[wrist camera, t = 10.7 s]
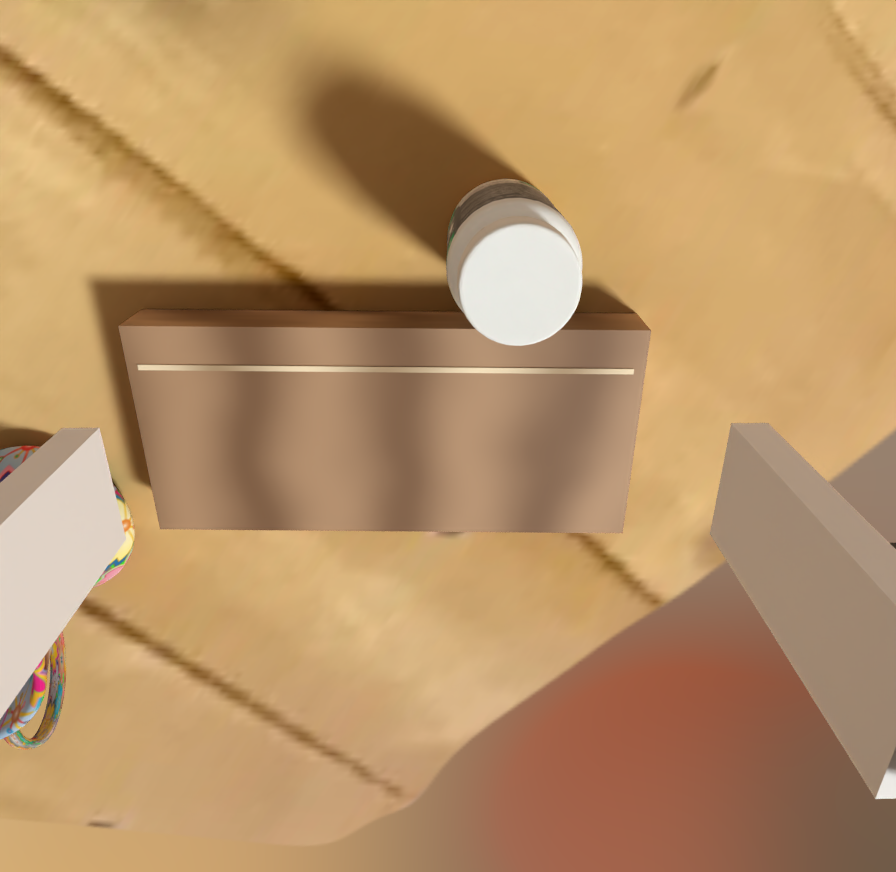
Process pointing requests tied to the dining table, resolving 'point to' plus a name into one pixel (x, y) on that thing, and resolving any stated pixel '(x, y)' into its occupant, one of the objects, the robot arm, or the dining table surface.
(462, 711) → the dining table surface
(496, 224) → the pill bottle
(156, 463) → the board
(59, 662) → the mug
